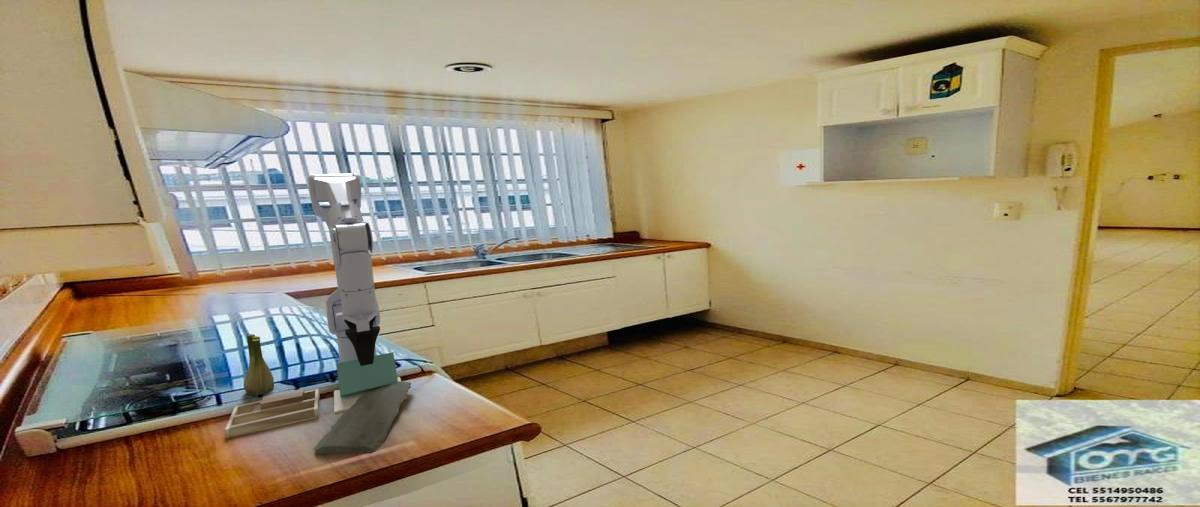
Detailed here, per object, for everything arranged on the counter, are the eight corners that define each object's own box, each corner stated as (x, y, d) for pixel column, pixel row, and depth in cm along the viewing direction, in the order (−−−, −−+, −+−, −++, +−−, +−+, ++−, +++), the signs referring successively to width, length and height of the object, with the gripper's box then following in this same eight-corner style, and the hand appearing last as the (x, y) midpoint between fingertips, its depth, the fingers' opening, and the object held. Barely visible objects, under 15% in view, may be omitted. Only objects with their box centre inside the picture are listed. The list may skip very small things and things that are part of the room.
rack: (237, 415, 87) (235, 405, 87) (319, 397, 93) (318, 388, 93) (226, 441, 78) (224, 429, 78) (318, 419, 85) (317, 408, 84)
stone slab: (311, 465, 72) (379, 452, 73) (307, 449, 72) (375, 436, 73) (366, 395, 94) (417, 386, 95) (362, 382, 94) (414, 373, 94)
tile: (334, 394, 94) (334, 390, 94) (400, 380, 100) (399, 376, 100) (334, 415, 86) (334, 411, 86) (406, 399, 91) (406, 395, 91)
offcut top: (264, 403, 88) (263, 396, 88) (304, 395, 91) (304, 389, 91) (261, 410, 85) (260, 403, 85) (303, 401, 88) (302, 395, 88)
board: (340, 396, 92) (336, 365, 93) (397, 384, 96) (392, 354, 98) (340, 395, 89) (336, 363, 91) (398, 382, 94) (393, 352, 96)
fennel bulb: (270, 396, 95) (261, 338, 93) (240, 401, 93) (231, 341, 91) (278, 385, 100) (270, 329, 98) (250, 389, 98) (241, 332, 96)
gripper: (332, 283, 94) (340, 350, 96) (333, 299, 81) (342, 375, 84) (372, 279, 97) (379, 343, 99) (378, 293, 85) (386, 366, 87)
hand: (365, 357), depth 92 cm, fingers open, 7 cm apart
